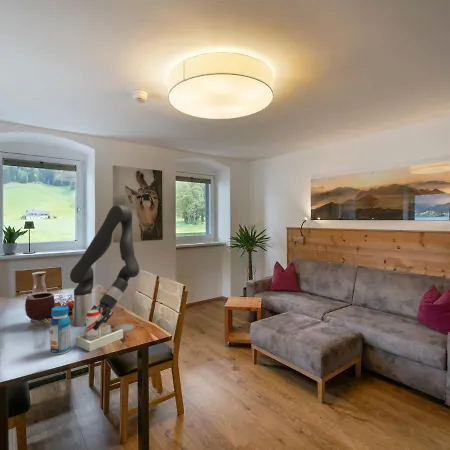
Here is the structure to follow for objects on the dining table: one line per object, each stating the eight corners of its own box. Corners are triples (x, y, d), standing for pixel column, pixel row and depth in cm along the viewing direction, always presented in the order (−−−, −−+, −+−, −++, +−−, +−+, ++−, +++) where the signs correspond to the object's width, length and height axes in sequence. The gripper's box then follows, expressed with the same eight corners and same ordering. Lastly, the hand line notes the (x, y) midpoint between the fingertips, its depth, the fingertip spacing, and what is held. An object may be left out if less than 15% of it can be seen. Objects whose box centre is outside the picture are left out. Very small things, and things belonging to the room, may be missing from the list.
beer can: (89, 341, 143) (88, 309, 143) (102, 340, 144) (102, 308, 143) (84, 347, 137) (83, 313, 136) (98, 346, 138) (97, 313, 137)
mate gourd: (46, 319, 172) (46, 286, 171) (60, 324, 165) (59, 289, 164) (17, 328, 159) (16, 292, 158) (30, 334, 152) (29, 296, 151)
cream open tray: (89, 351, 133) (89, 342, 133) (76, 345, 139) (75, 337, 139) (123, 337, 148) (123, 329, 147) (109, 332, 154) (109, 324, 154)
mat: (109, 332, 154) (109, 331, 154) (118, 324, 165) (118, 323, 165) (129, 333, 153) (129, 332, 153) (137, 325, 164) (137, 324, 164)
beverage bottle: (69, 354, 130) (68, 309, 130) (47, 356, 128) (46, 311, 127) (73, 345, 138) (72, 304, 138) (53, 348, 136) (52, 305, 135)
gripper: (98, 291, 150) (76, 321, 140) (115, 295, 142) (93, 327, 132) (107, 299, 154) (86, 328, 145) (125, 303, 146) (104, 335, 137)
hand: (90, 327), depth 139 cm, fingers closed on beer can, 6 cm apart
